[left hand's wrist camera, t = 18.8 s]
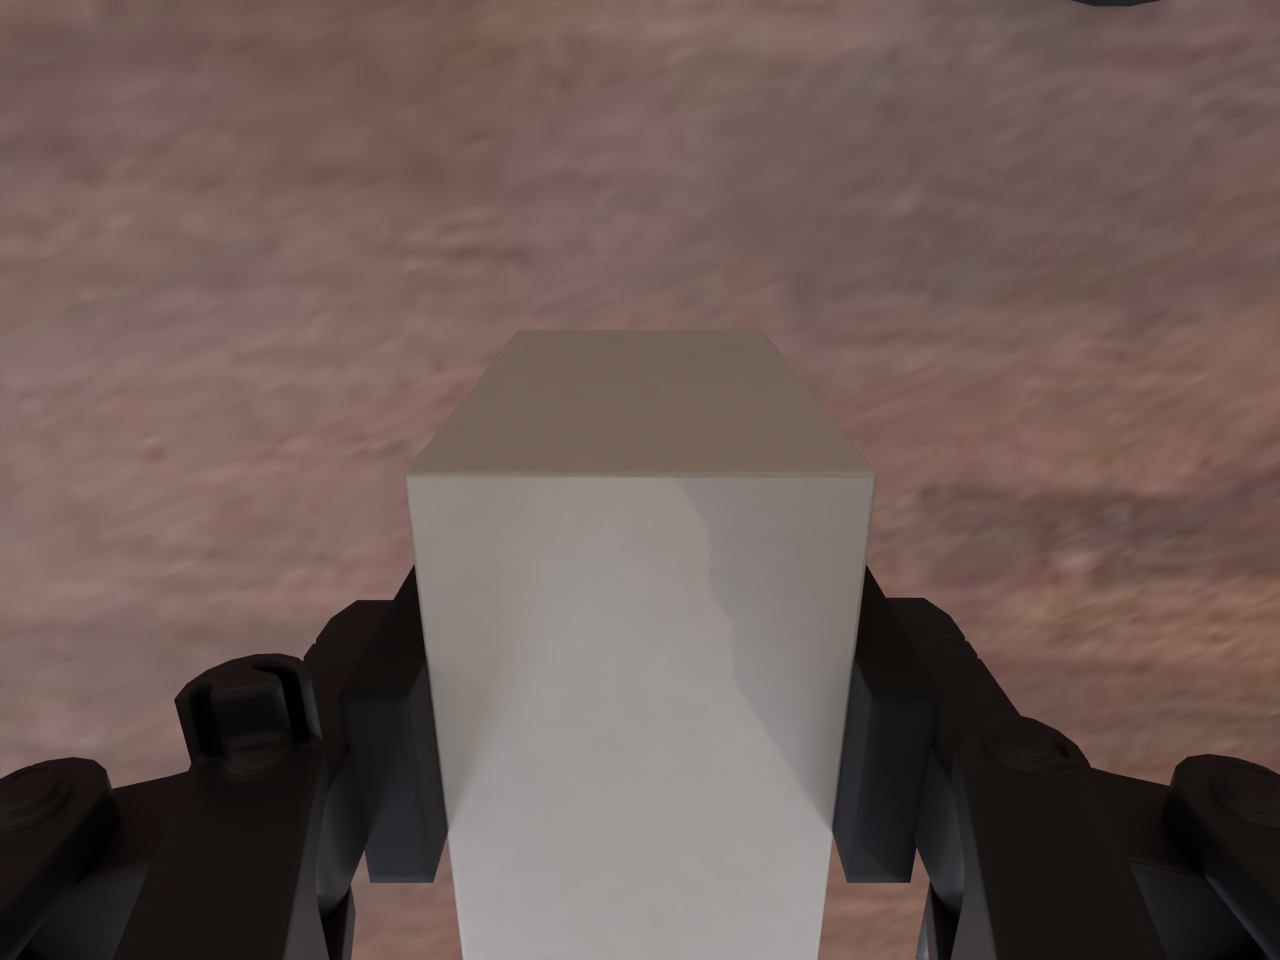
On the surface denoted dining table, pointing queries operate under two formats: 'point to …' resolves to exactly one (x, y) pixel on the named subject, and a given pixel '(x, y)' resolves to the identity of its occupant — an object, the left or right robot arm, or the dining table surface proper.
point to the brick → (640, 644)
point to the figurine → (1114, 2)
